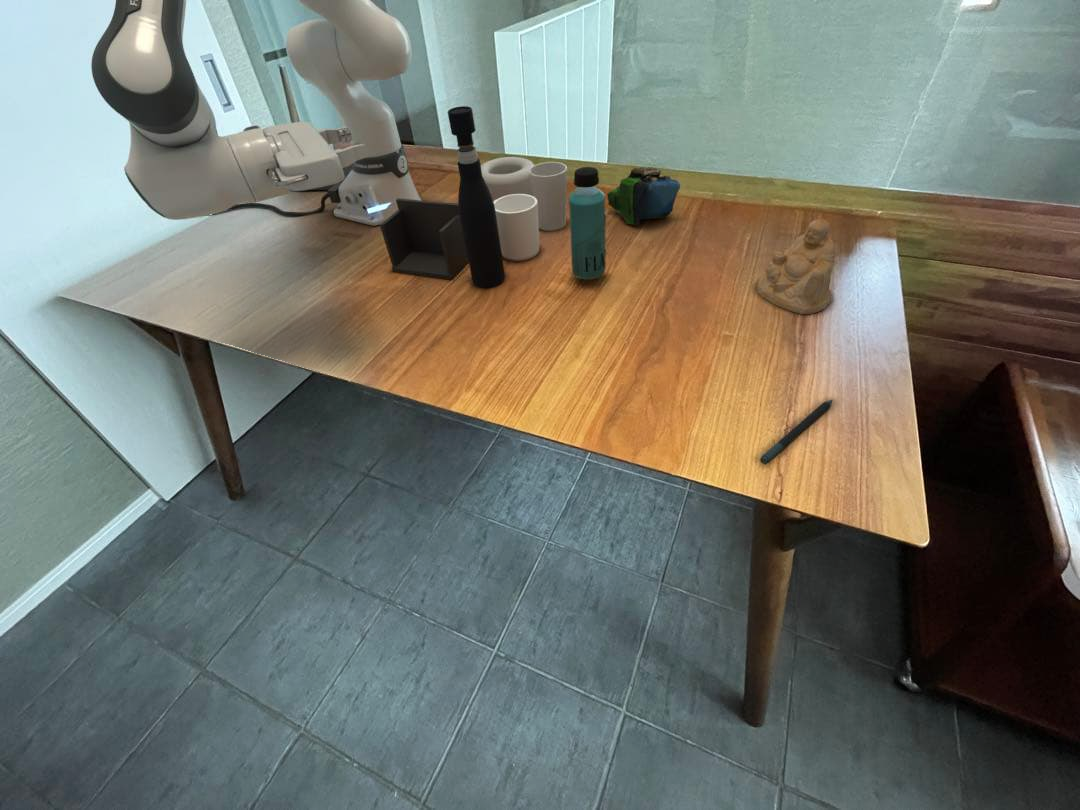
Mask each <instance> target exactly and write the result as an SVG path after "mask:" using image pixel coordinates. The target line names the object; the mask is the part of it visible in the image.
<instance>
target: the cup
mask: <svg viewBox="0 0 1080 810" xmlns="http://www.w3.org/2000/svg"><path fill="white" fill-rule="evenodd" d="M529 174H530V180H531V185H532V191H533V195H532V196H533V197H535V198H536V199H537V204H538V227H539V230H543V231H548V232H549V231H551V232H552V231H557V230H561V229H562V228H564V227H565V226H566V225H567V183H568V182H567V181H568V180H567V179H568V166H567V165H566V164H564V163H562V162H558V161H547V162H540V163H537V164H534V166H533V167H531V168H530V169H529Z"/></svg>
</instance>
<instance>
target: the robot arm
mask: <svg viewBox="0 0 1080 810" xmlns="http://www.w3.org/2000/svg"><path fill="white" fill-rule="evenodd" d="M296 2H298V3H299V5H301V6H302V7H304V8H306V9H308V10H309V11H312V12H314V13H315V14H318V15H320V16H322V17H323V18H319V19H310V20H307V21H304V22H301V23H299V24H297V25H294V26H292V27H290V29H289V30H288V32H287V35H286V39H285V49H286V54H287V58H288V61H289V63H290V65H291V67H292V69H293V70H294V71H295V73H297V74H298V76H299V77H300V78H301V79H302V80H304V81H306V82H308V83H309V84H311V85H312V86H313V87H315V88H316V89H317V90H318V91H319V92H321V94H322V95H323V96H325V98H326V99H327V100H328V101H329V103H330V104H331V105H332V107H333V108H334V110H335V111H336V113H337V114H338V116H339V118H340V120H341V122H342V125H343V126H342V127H337V128H320V129H317V128H316V127H315V126H314V125H313V124H312V123H311V122H309V121H295V122H288V123H282V124H275V125H270V126H265V127H263V128H262V127H261V126H260V125H259V124H254V125H250V126H247V127H245V128H244V129H243V130H242V131H239V132H237V133H232V134H228V135H223V136H221V135H219V132H218V130H217V122H216V117H215V114H214V112H213V109H212V107H211V106H210V103H209V102H208V100H207V98H206V96H205V94H204V92H203V91H202V89H201V87H200V85H199V84H198V82H197V80H196V76H195V74H194V72H193V70H192V67H191V65H190V62H189V60H188V57H187V55H186V52H185V48H184V41H183V36H184V28H185V27H184V26H185V17H186V8H187V7H186V6H187V0H115V4H114V5H115V6H114V10H113V14H112V17H111V20H110V22H109V24H108V26H107V28H106V29H105V31H104V32H103V34H102V35H101V37H100V39H98V41H97V43H96V46H95V48H94V50H93V53H92V57H91V64H90V66H91V75H92V79H93V82H94V84H95V87H96V89H97V91H98V92H99V94H100V96H101V97H102V98H103V100H104V101H105V103H107V105H108V106H109V107H110V108H111V109H112V110H114V111H115V112H116V113H117V114H119V116H121V117H123V119H125V121H128V122H129V129H130V147H129V152H128V153H129V154H128V159H127V162H126V164H125V165H124V169H123V170H124V173H125V176H126V178H127V180H128V182H129V184H130V185H131V187H132V188H133V190H134V191H135V192H136V194H138V196H139V197H140V199H141V200H142V201H143V202H144V203H145V204H146V205H147V206H148V208H150V209H151V210H152V211H153V212H155V213H156V214H157V215H159V216H160V217H163V218H164V219H168V220H172V221H181V220H189V219H190V220H191V219H195V218H201V217H205V216H210V215H214V214H220V213H223V212H228V211H231V210H236V209H241V208H254V207H255V208H263V209H265V208H266V209H270V210H273V211H275V212H277V213H278V214H280V215H282V216H289V217H290V216H291V217H304V216H310V215H314V214H319V213H321V212H323V211H325V208H326V200H327V199H328V198H329V199H330V202H331V204H338V205H336V206H335V208H334V209H333V215H334V217H336V218H340V219H343V220H344V219H345V220H349V221H352V222H357V223H360V224H364V225H369V226H380V224H381V223H383V222H384V221H385V220H386V219H388V218H389V217H390V216H391V215H393V214H394V213H395V212H396V211H398V206H397V202H396V199H398V198H399V199H411V200H422V199H421V196H420V195H419V193H418V189H416V186H415V183H414V181H413V179H412V176H411V173H410V169H409V164H408V163H409V161H408V158H407V154H406V149H405V146H404V144H403V143H402V142H401V138H400V134H399V131H398V130H399V129H398V126H397V123H396V118H395V114H394V111H392V110H393V109H392V108H391V107H390V106H389V104H387V103H386V102H385V101H383V100H382V99H380V98H377V97H376V96H374V95H372V94H371V93H370V92H369V91H367V89H366V88H365V86H363V84H362V82H366V81H368V82H369V81H380V80H381V81H383V80H388V79H391V78H394V77H398V76H401V75H404V74H405V73H406V72H407V71H408V69H409V67H410V65H411V61H412V57H413V56H412V55H413V51H412V50H413V49H412V42H411V39H410V36H409V33H408V32H407V30H406V28H405V27H404V25H403V24H402V22H400V21H399V19H398V18H397V17H395V16H393V15H390V14H389V13H387V12H385V11H384V10H382V8H380V7H379V6H378V5H376V4H375V3H374V2H373V1H372V0H296ZM338 143H341V144H345V143H349V144H350V146H347V147H345V148H342V149H341V148H337V149H333V148H332V147H331V145H333V144H338ZM351 164H352V170H351V172H350V173H349V174H348V176H347V177H346V178H345V176H344V172H343V169H342V168H344V167H348V166H349V165H351ZM344 178H345V180H344V181H343V182H342V183H339V182H341V181H342V180H343V179H344ZM333 184H334V185H333ZM328 185H333V186H332V187H331V188H330V189H329V190H326V191H327V193H325V194H324V195H323V196H322V197H321V199H320V207H319V208H317V209H315V210H312V211H285V210H282V209H280V208H279V207H277V206H275V205H272V204H268V203H261V202H263V201H266V200H270V199H274V198H278V197H282V196H285V195H289V193H290V192H289V189H290V190H291V191H294V192H302V191H303V192H304V191H310V190H309V189H314V188H319V187H324V186H328Z"/></svg>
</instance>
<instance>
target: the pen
mask: <svg viewBox="0 0 1080 810" xmlns="http://www.w3.org/2000/svg"><path fill="white" fill-rule="evenodd" d="M832 404H833V399H829V400H826V401H824V402H822V403H821V404H820V405H818V407H816V409H814V410H813V411H812V412H811V413H810V414H809V415H807V416H806V417H805V418H803V419H802V420H801V421H800V422H799V423H798V424H797V425H796V426H794V427H793V428H792V429H791V430H790V431H789V432H788V433H786V434H785V435H784V436H783V437H782V438H780V440H778V441H777V442H776V443H775V444H773V446H772V447H771V448H769V449H768V450H767V451H766V452H765V453H763V454H762V455H761V457H760V459H759V460H760V462H762V464H767V463H769V462H770V461H771V460H772V459H774V457H776V456H777V455H778V454H779V453H780V452H781V451H782V450H784V449H785V448H786V447H787V446H788V445H789V444H790V443H792V442H793V441H794V440H795V439H796V438H797V437H798V436H799V435H800V434H802V433H803V432H804V431H805V430H806V429H807V428H808V427H810V426H811V425H812V424H814V422H815V421H816V420H817V419H819V418H820V417H821V416H822V415H823V414H824V413H825V412H827V410H829V409H830V408H831V405H832Z"/></svg>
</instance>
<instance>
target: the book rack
mask: <svg viewBox="0 0 1080 810" xmlns="http://www.w3.org/2000/svg"><path fill="white" fill-rule="evenodd" d="M396 202H397V206H398V211H396V212H395V213H394V214H393V215H391V216H390V217H389V218H388V219H386V220H385V221H384V222H383V223H381V224H379V228H380V230H381V234H382V236H383V240H384V243H385V246H386V250H387V253H388V257H389V260H390V262H391V263H390V264H391V266H392V267H391V271H392V273H399V274H406V275H413V276H421V277H427V278H435V279H443V280H448V281H452V280H454V279H455V278H456V277H457V275H458V274H460V272H461V271H462V270H463V269H464V268H465V267H466V266H467V265H468V264H469V260H468V255H467V250H466V245H465V240H464V235H463V230H462V225H461V220H460V215H459V208H458V202H444V201H433V200H423V199H421V200H411V199H399V198H398V199H396Z"/></svg>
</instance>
